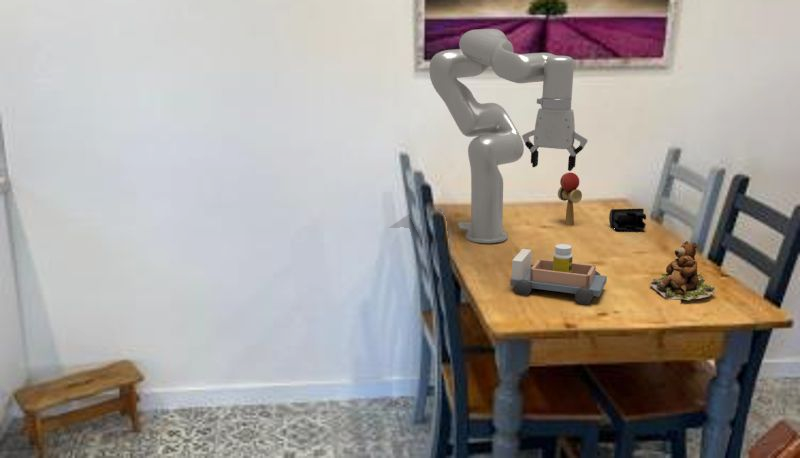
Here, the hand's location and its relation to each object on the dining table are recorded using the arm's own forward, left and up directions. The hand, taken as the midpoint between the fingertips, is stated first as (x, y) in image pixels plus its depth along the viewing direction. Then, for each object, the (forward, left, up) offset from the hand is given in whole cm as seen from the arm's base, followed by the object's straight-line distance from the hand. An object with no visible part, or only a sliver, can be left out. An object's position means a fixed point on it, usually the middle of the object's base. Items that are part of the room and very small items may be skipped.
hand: (552, 168), depth 207 cm
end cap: (+16, +42, -28) cm, 52 cm away
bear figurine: (+35, -8, -28) cm, 46 cm away
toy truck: (+7, -19, -27) cm, 34 cm away
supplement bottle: (+8, -19, -24) cm, 32 cm away
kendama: (-2, +38, -28) cm, 47 cm away
